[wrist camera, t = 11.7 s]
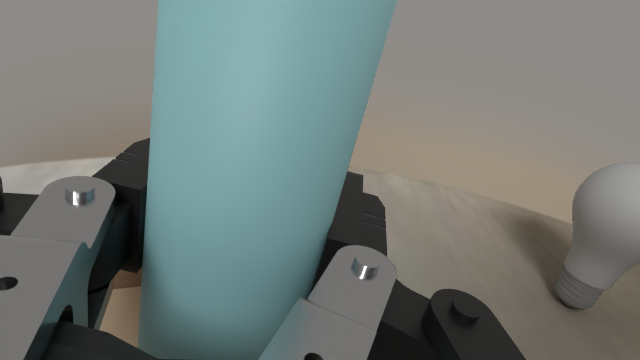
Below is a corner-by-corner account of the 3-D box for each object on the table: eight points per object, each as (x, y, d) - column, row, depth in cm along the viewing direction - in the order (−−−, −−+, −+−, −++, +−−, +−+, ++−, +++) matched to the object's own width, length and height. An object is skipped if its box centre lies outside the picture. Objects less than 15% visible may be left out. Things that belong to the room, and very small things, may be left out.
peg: (234, 426, 18) (364, -147, 9) (264, 540, 15) (504, -160, 6) (123, 455, 16) (156, -226, 7) (132, 591, 13) (207, -301, 4)
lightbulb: (545, 328, 29) (638, 182, 24) (512, 267, 35) (582, 138, 29) (632, 345, 30) (741, 206, 25) (586, 283, 35) (668, 158, 30)
